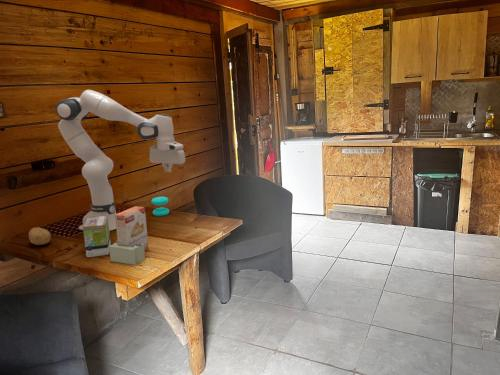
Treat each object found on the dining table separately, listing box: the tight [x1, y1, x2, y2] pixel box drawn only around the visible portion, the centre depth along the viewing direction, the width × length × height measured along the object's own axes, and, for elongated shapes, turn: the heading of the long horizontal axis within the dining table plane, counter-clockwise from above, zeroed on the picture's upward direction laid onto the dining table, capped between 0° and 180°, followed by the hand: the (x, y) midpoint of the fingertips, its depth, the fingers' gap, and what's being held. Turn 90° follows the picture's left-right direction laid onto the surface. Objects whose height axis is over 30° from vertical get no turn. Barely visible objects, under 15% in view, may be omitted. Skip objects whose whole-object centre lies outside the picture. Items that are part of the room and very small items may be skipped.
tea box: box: [82, 216, 112, 258], centre depth 182 cm, size 15×10×15 cm, turn 17°
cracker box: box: [115, 205, 150, 252], centre depth 175 cm, size 14×6×21 cm, turn 158°
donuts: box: [151, 196, 170, 217], centre depth 236 cm, size 10×10×10 cm
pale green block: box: [109, 239, 146, 266], centre depth 171 cm, size 13×7×8 cm, turn 67°
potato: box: [28, 227, 52, 246], centre depth 194 cm, size 10×14×8 cm
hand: (168, 171), depth 205 cm, fingers closed
